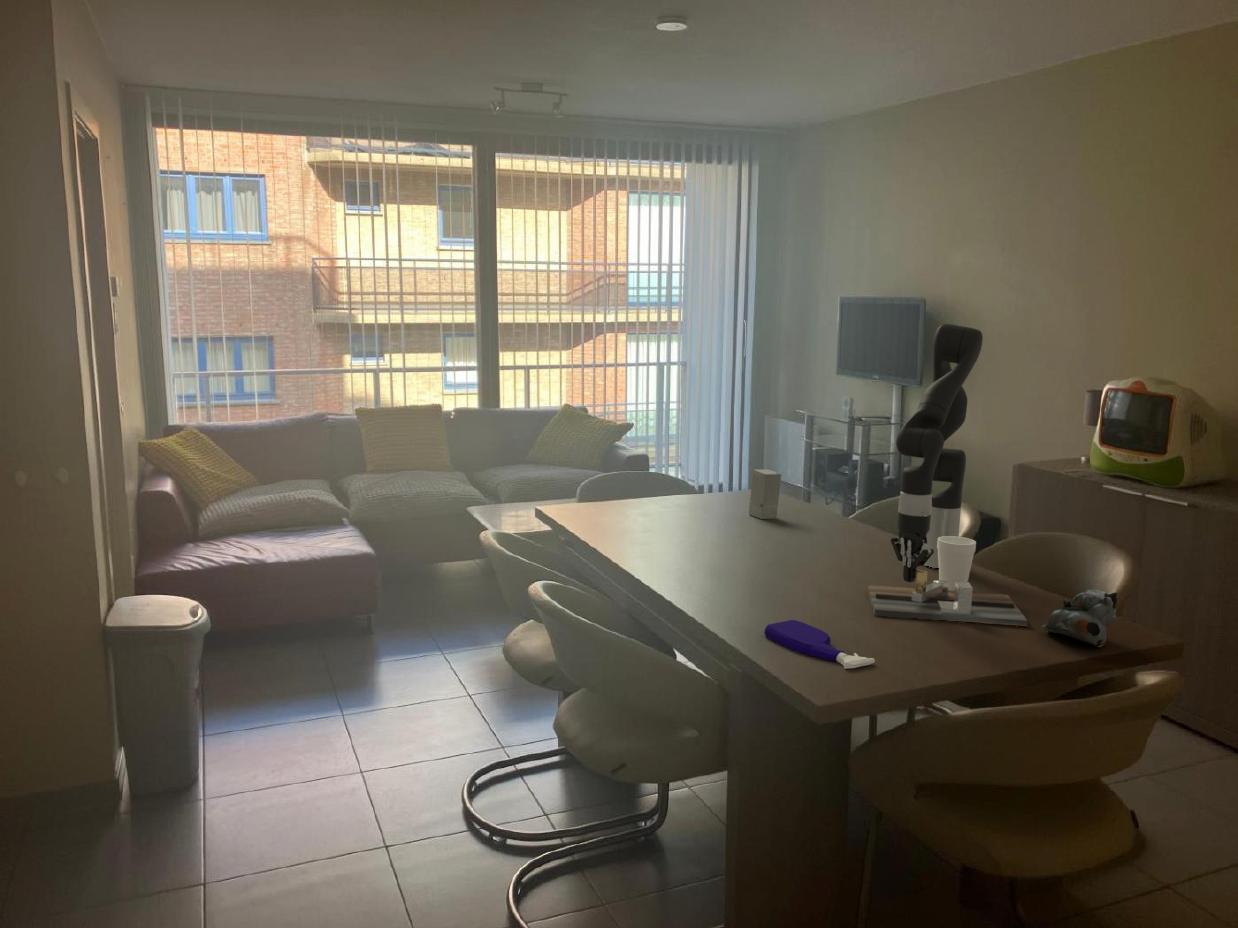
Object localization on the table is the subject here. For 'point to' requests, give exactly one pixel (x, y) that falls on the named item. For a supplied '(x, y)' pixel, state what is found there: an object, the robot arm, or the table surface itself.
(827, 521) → the table surface
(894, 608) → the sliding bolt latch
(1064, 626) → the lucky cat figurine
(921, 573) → the swing bar
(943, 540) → the foam cup
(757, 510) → the skincare box
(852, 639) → the table surface
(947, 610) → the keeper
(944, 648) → the table surface
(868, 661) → the spray bottle
